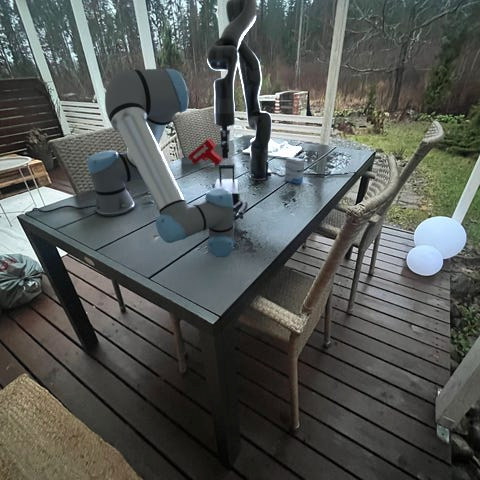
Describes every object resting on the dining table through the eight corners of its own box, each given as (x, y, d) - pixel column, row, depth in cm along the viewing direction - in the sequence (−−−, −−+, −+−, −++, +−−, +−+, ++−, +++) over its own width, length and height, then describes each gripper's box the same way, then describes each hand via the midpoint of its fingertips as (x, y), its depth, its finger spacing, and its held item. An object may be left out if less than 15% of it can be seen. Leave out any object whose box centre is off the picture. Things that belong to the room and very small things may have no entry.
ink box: (302, 181, 142) (305, 159, 136) (297, 184, 139) (300, 161, 133) (289, 177, 147) (291, 156, 141) (284, 180, 144) (285, 158, 138)
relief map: (291, 159, 177) (291, 151, 174) (243, 153, 190) (243, 145, 187) (302, 149, 197) (303, 142, 194) (258, 144, 211) (258, 137, 208)
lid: (216, 181, 119) (215, 162, 115) (238, 181, 119) (237, 162, 115) (213, 195, 106) (212, 175, 101) (237, 195, 106) (237, 175, 101)
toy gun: (225, 158, 166) (210, 137, 162) (223, 160, 163) (207, 139, 159) (205, 174, 176) (191, 154, 172) (202, 176, 173) (188, 156, 169)
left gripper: (191, 233, 93) (200, 205, 112) (255, 233, 93) (253, 204, 112) (189, 213, 89) (198, 188, 108) (256, 213, 89) (253, 187, 108)
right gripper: (216, 108, 107) (217, 150, 116) (212, 113, 95) (215, 160, 104) (235, 108, 107) (235, 150, 116) (234, 113, 95) (234, 160, 104)
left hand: (226, 196), depth 110 cm, fingers closed on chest, 9 cm apart
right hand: (225, 154), depth 110 cm, fingers open, 8 cm apart
